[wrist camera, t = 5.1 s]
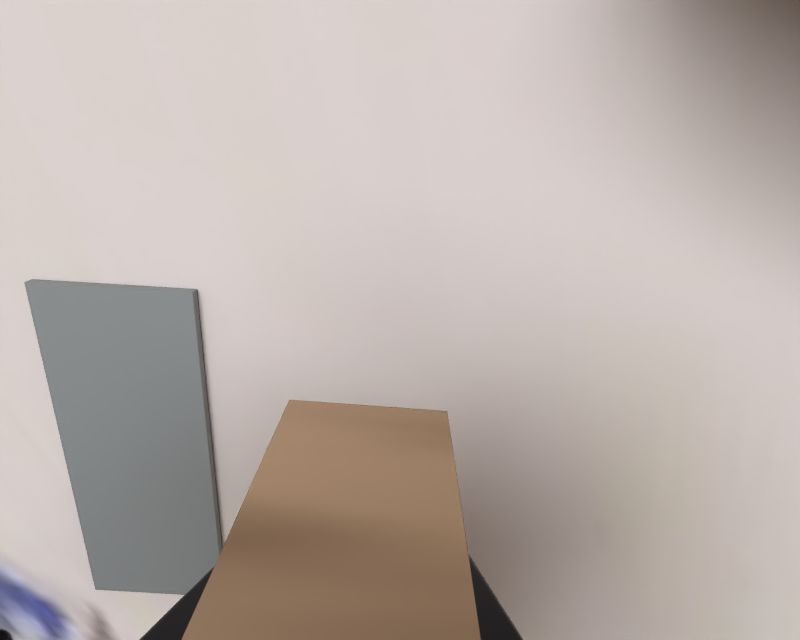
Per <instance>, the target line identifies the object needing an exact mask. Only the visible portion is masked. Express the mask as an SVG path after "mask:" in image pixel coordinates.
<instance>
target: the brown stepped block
mask: <svg viewBox="0 0 800 640" xmlns="http://www.w3.org/2000/svg"><path fill="white" fill-rule="evenodd" d="M182 640H481V638H480V631H479V624H478V617H477V611H476V604H475V597H474V590H473V583H472V577H471V570H470V563H469V556H468V549H467V543H466V536H465V529H464V522H463V516H462V509H461V502H460V495H459V488H458V482H457V475H456V468H455V461H454V454H453V448H452V441H451V434H450V427H449V421H448V414H447V411H438V410H424V409H410V408H396V407H382V406H368V405H354V404H340V403H326V402H312V401H298V400H289V402H288V404H287V406H286V408H285V411H284V413H283V415H282V417H281V420H280V422H279V424H278V426H277V428H276V431H275V433H274V435H273V437H272V440H271V442H270V444H269V446H268V448H267V451H266V453H265V455H264V457H263V460H262V462H261V464H260V466H259V469H258V471H257V473H256V475H255V477H254V480H253V482H252V484H251V486H250V489H249V491H248V493H247V495H246V497H245V500H244V502H243V504H242V506H241V509H240V511H239V513H238V515H237V517H236V520H235V522H234V524H233V526H232V529H231V531H230V533H229V535H228V538H227V540H226V542H225V544H224V546H223V549H222V551H221V553H220V555H219V558H218V560H217V562H216V564H215V566H214V569H213V571H212V573H211V575H210V578H209V580H208V582H207V584H206V586H205V589H204V591H203V593H202V595H201V598H200V600H199V602H198V604H197V606H196V609H195V611H194V613H193V615H192V618H191V620H190V622H189V624H188V627H187V629H186V631H185V633H184V635H183V638H182Z"/></svg>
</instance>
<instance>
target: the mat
mask: <svg viewBox="0 0 800 640" xmlns="http://www.w3.org/2000/svg"><path fill="white" fill-rule="evenodd" d="M25 287H26V291H27V295H28V300H29V304H30V308H31V313H32V317H33V321H34V326H35V330H36V334H37V339H38V343H39V347H40V352H41V356H42V360H43V365H44V369H45V373H46V377H47V382H48V386H49V390H50V395H51V399H52V403H53V408H54V412H55V416H56V421H57V425H58V429H59V434H60V438H61V442H62V447H63V451H64V455H65V460H66V464H67V468H68V473H69V477H70V481H71V486H72V490H73V494H74V499H75V503H76V507H77V511H78V516H79V520H80V524H81V529H82V533H83V537H84V542H85V546H86V550H87V555H88V559H89V563H90V568H91V572H92V576H93V581H94V585H95V589H96V590H113V591H130V592H148V593H165V594H182V595H185V594H186V593H187V592H188V591H189V590H190V589H191V588H193V587H194V586H195V585H196V584H197V583H198V582H199V581H200V580H201V579H202V578H203V577H204V576H205V575H206V574H207V573H208V572H209V571H210V570H211V569H212V568H213V567H214V566H215V564H216V562H217V560H218V558H219V555H220V553H221V551H222V541H221V531H220V521H219V511H218V501H217V491H216V480H215V470H214V460H213V450H212V440H211V430H210V420H209V409H208V399H207V389H206V379H205V369H204V359H203V348H202V338H201V328H200V318H199V308H198V298H197V289H184V288H167V287H151V286H134V285H118V284H101V283H84V282H68V281H51V280H34V279H32V280H29V281H27V282H25Z"/></svg>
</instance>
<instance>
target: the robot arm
mask: <svg viewBox="0 0 800 640" xmlns="http://www.w3.org/2000/svg"><path fill="white" fill-rule="evenodd" d="M468 556H469V554H468ZM469 563H470V570H471V577H472V583H473V590H474V597H475V604H476V611H477V617H478V624H479V631H480V638H481V640H523V639H522V637H521V636H520V634H519V632H518V631H517V629H516V628H515V626H514V625H513V623H512V621H511V620H510V618H509V617H508V615H507V614H506V612H505V610H504V609H503V607H502V606H501V604H500V603H499V601H498V599H497V598H496V596H495V595H494V593H493V592H492V590H491V588H490V587H489V585H488V584H487V582H486V581H485V579H484V577H483V576H482V574H481V573H480V571H479V570H478V568H477V567H476V565H475V563H474V562H473V560H472V559H471V557H470V556H469ZM213 569H214V567H213V568H212V569H211V570H210V571H209V572H208V573H207V574H206V575H205V576H204V577H203V578H202V579H201V580H200V581H199V582H198V583H197V584H196V585H195V586H194V587H193V588H191V589H190V590H189V591H188V592H187V593H186V594H185V595H184V596H183V597H182V598H181V599H180V600H179V601H178V602H177V603H176V604H175V605H174V606H173V607H172V608H171V609H170V610H169V611H168V612H167V613H166V614H165V615H164V616H163V617H162V618H161V619H160V620H159V621H158V622H157V623H156V624H155V625H154V626H153V627H152V628H151V629H150V630H149V631H148V632H147V633H146V634H145V635H144V636H143V637H142V638H141V639H140V640H182V638H183V635H184V633H185V631H186V629H187V627H188V624H189V622H190V620H191V618H192V615H193V613H194V611H195V609H196V606H197V604H198V602H199V600H200V598H201V595H202V593H203V591H204V589H205V586H206V584H207V582H208V580H209V578H210V575H211V573H212V571H213ZM0 640H8V638H7V637H6V635H4V634H3V633H1V632H0Z"/></svg>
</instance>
